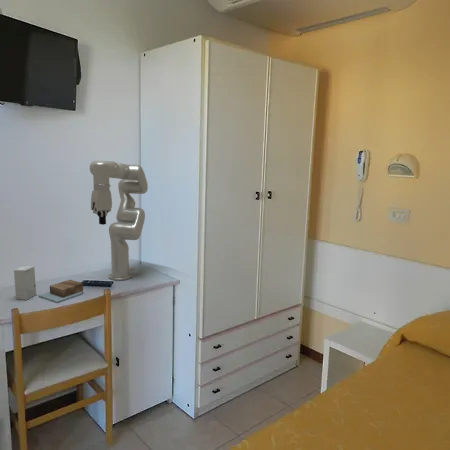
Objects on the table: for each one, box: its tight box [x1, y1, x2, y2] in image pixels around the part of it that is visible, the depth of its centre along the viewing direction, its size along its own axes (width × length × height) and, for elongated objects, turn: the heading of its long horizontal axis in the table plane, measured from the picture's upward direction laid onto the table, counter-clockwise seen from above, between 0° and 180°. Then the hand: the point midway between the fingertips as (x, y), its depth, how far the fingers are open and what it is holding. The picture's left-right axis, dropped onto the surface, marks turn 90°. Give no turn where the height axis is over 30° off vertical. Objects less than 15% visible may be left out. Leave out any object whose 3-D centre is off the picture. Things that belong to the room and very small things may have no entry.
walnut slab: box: [49, 279, 84, 298], centre depth 212 cm, size 4×10×12 cm
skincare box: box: [13, 265, 37, 301], centre depth 206 cm, size 8×6×15 cm
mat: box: [38, 291, 84, 304], centre depth 210 cm, size 15×14×1 cm
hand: (102, 224), depth 211 cm, fingers closed
